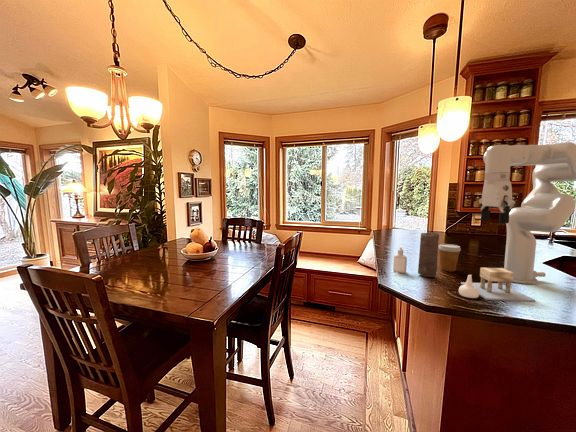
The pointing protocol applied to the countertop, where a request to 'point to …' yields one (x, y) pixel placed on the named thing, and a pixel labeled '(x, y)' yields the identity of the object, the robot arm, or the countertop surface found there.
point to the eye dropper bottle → (400, 262)
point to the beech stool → (496, 278)
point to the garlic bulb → (469, 289)
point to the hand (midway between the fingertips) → (494, 221)
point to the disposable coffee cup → (448, 256)
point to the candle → (428, 254)
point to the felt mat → (500, 293)
